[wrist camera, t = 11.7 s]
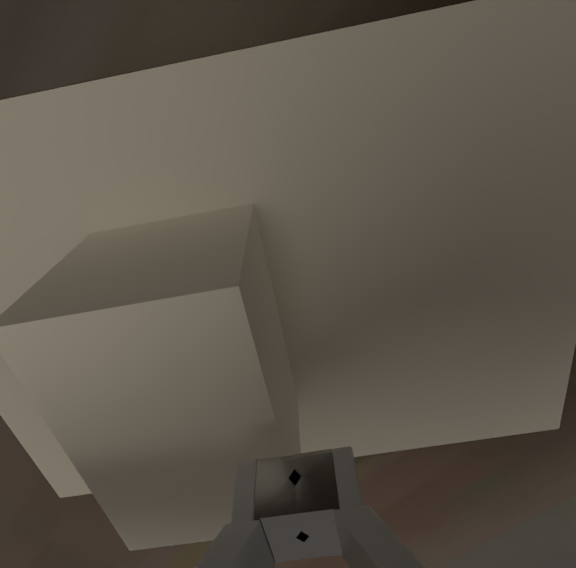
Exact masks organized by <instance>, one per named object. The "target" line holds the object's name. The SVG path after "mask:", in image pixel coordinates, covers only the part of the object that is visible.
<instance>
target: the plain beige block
mask: <svg viewBox="0 0 576 568" xmlns="http://www.w3.org/2000/svg"><path fill="white" fill-rule="evenodd" d="M0 353H1V355H2V357H3V358H4V360H5V361H6V363H7V364H8V366H9V367H10V369H11V370H12V372H13V373H14V375H15V376H16V378H17V379H18V381H19V382H20V384H21V386H22V387H23V389H24V390H25V392H26V393H27V395H28V396H29V398H30V399H31V401H32V402H33V404H34V405H35V407H36V408H37V410H38V411H39V413H40V415H41V416H42V418H43V419H44V421H45V422H46V424H47V425H48V427H49V428H50V430H51V431H52V433H53V434H54V436H55V437H56V439H57V440H58V442H59V444H60V445H61V447H62V448H63V450H64V451H65V453H66V454H67V456H68V457H69V459H70V460H71V462H72V463H73V465H74V466H75V468H76V469H77V471H78V473H79V474H80V476H81V477H82V479H83V480H84V482H85V483H86V485H87V486H88V488H89V489H90V491H91V492H92V494H93V495H94V497H95V498H96V500H97V502H98V503H99V505H100V506H101V508H102V509H103V511H104V512H105V514H106V515H107V517H108V518H109V520H110V521H111V523H112V524H113V526H114V528H115V529H116V531H117V532H118V534H119V535H120V537H121V538H122V540H123V541H124V543H125V544H126V546H127V547H128V549H129V550H130V551H132V550H140V549H148V548H156V547H164V546H171V545H179V544H187V543H195V542H203V541H210V540H215V538H216V537H217V536H218V534H219V533H220V531H221V530H222V528H223V527H224V525H225V524H229V523H231V519H232V509H233V500H234V490H235V481H236V471H237V466H238V463H239V461H247V460H255V459H263V458H272V457H282V456H291V455H295V454H299V453H301V448H300V430H299V413H298V396H297V392H296V388H295V383H294V379H293V374H292V370H291V366H290V361H289V357H288V353H287V348H286V344H285V340H284V335H283V331H282V326H281V322H280V318H279V313H278V309H277V305H276V300H275V296H274V292H273V287H272V283H271V278H270V274H269V270H268V265H267V261H266V257H265V252H264V248H263V244H262V239H261V235H260V230H259V226H258V222H257V217H256V213H255V209H254V204H253V203H252V204H247V205H241V206H236V207H231V208H225V209H220V210H214V211H209V212H203V213H198V214H193V215H187V216H182V217H176V218H171V219H165V220H160V221H155V222H149V223H144V224H138V225H133V226H127V227H122V228H117V229H111V230H106V231H100V232H95V233H90V234H89V235H88V236H87V237H86V238H84V239H83V240H82V241H81V242H80V243H79V244H78V245H77V246H76V247H75V248H74V249H72V250H71V251H70V252H69V253H68V254H67V255H66V256H65V257H64V258H63V259H61V260H60V261H59V262H58V263H57V264H56V265H55V266H54V267H53V268H52V269H50V270H49V271H48V272H47V273H46V274H45V275H44V276H43V277H42V278H41V279H39V280H38V281H37V282H36V283H35V284H34V285H33V286H32V287H31V288H30V289H29V290H27V291H26V292H25V293H24V294H23V295H22V296H21V297H20V298H19V299H18V300H16V301H15V302H14V303H13V304H12V305H11V306H10V307H9V308H8V309H7V310H5V311H4V312H3V313H2V314H1V315H0Z"/></svg>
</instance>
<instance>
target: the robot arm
mask: <svg viewBox="0 0 576 568" xmlns="http://www.w3.org/2000/svg"><path fill="white" fill-rule="evenodd" d="M335 555H343V558H344V559H345V561H346V562H347V563H348V565H349V566H350V568H425V567H424V566H423V565H422V563H421V562H420V561H419V560H418V559H417V558H416V557H415V556H414V555H413V554H412V552H411V551H410V550H409V549H408V548H407V547H406V546H405V545H404V544H403V543H402V541H401V540H400V539H399V538H398V537H397V536H396V535H395V534H394V533H393V532H392V530H391V529H390V528H389V527H388V526H387V525H386V524H385V523H384V522H383V521H382V520H381V518H380V517H379V516H378V515H377V514H376V513H375V512H374V511H373V510H372V509H371V507H370V506H363V503H362V498H361V493H360V487H359V482H358V477H357V472H356V466H355V461H354V456H353V450H352V448H351V446H350V447H343V448H336V449H326V450H319V451H312V452H306V453H299V454H295V455H291V456H282V457H272V458H263V459H255V460H247V461H239V463H238V466H237V471H236V481H235V490H234V500H233V509H232V519H231V523H229V524H225V525H224V527H223V528H222V530H221V531H220V533H219V534H218V536H217V537H216V538H215V540H214V541H213V543H212V544H211V546H210V547H209V549H208V550H207V552H206V553H205V554H204V556H203V557H202V559H201V560H200V562H199V563H198V565H197V566H196V568H274V567H275V563H278V562H284V561H291V560H297V559H304V558H312V557H324V556H335Z"/></svg>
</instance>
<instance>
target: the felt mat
mask: <svg viewBox="0 0 576 568" xmlns="http://www.w3.org/2000/svg"><path fill="white" fill-rule="evenodd" d="M252 203H253V204H254V209H255V213H256V217H257V222H258V226H259V230H260V235H261V239H262V244H263V248H264V252H265V257H266V261H267V265H268V270H269V274H270V278H271V283H272V287H273V292H274V296H275V300H276V305H277V309H278V313H279V318H280V322H281V326H282V331H283V335H284V340H285V344H286V348H287V353H288V357H289V361H290V366H291V370H292V374H293V379H294V383H295V388H296V392H297V396H298V413H299V430H300V448H301V453H306V452H312V451H319V450H326V449H336V448H343V447H350V446H351V448H352V450H353V456H354V457H358V456H365V455H372V454H380V453H387V452H394V451H401V450H408V449H416V448H423V447H430V446H437V445H445V444H452V443H459V442H466V441H473V440H481V439H488V438H495V437H502V436H509V435H517V434H524V433H531V432H538V431H546V430H553V429H559V427H560V422H561V416H562V411H563V406H564V401H565V396H566V391H567V386H568V381H569V376H570V370H571V365H572V360H573V355H574V350H575V345H576V0H475V1H470V2H466V3H461V4H456V5H451V6H447V7H442V8H437V9H432V10H428V11H423V12H418V13H413V14H409V15H404V16H399V17H394V18H390V19H385V20H380V21H375V22H370V23H366V24H361V25H356V26H351V27H347V28H342V29H337V30H332V31H328V32H323V33H318V34H313V35H309V36H304V37H299V38H294V39H290V40H285V41H280V42H275V43H271V44H266V45H261V46H256V47H252V48H247V49H242V50H237V51H232V52H228V53H223V54H218V55H213V56H209V57H204V58H199V59H194V60H190V61H185V62H180V63H175V64H171V65H166V66H161V67H156V68H152V69H147V70H142V71H137V72H133V73H128V74H123V75H118V76H113V77H109V78H104V79H99V80H94V81H90V82H85V83H80V84H75V85H71V86H66V87H61V88H56V89H52V90H47V91H42V92H37V93H33V94H28V95H23V96H18V97H14V98H9V99H4V100H0V315H1V314H2V313H3V312H4V311H5V310H7V309H8V308H9V307H10V306H11V305H12V304H13V303H14V302H15V301H16V300H18V299H19V298H20V297H21V296H22V295H23V294H24V293H25V292H26V291H27V290H29V289H30V288H31V287H32V286H33V285H34V284H35V283H36V282H37V281H38V280H39V279H41V278H42V277H43V276H44V275H45V274H46V273H47V272H48V271H49V270H50V269H52V268H53V267H54V266H55V265H56V264H57V263H58V262H59V261H60V260H61V259H63V258H64V257H65V256H66V255H67V254H68V253H69V252H70V251H71V250H72V249H74V248H75V247H76V246H77V245H78V244H79V243H80V242H81V241H82V240H83V239H84V238H86V237H87V236H88V235H89V234H90V233H95V232H100V231H106V230H111V229H117V228H122V227H127V226H133V225H138V224H144V223H149V222H155V221H160V220H165V219H171V218H176V217H182V216H187V215H193V214H198V213H203V212H209V211H214V210H220V209H225V208H231V207H236V206H241V205H247V204H252ZM0 415H1V416H2V418H3V419H4V421H5V422H6V423H7V425H8V426H9V428H10V429H11V430H12V432H13V433H14V435H15V436H16V437H17V439H18V440H19V441H20V443H21V444H22V446H23V447H24V448H25V450H26V451H27V453H28V454H29V455H30V457H31V458H32V460H33V461H34V462H35V464H36V465H37V466H38V468H39V469H40V471H41V472H42V473H43V475H44V476H45V478H46V479H47V480H48V482H49V483H50V485H51V486H52V487H53V489H54V490H55V491H56V493H57V494H58V496H59V497H60V498H62V497H69V496H77V495H84V494H91V493H92V492H91V491H90V489H89V488H88V486H87V485H86V483H85V482H84V480H83V479H82V477H81V476H80V474H79V473H78V471H77V469H76V468H75V466H74V465H73V463H72V462H71V460H70V459H69V457H68V456H67V454H66V453H65V451H64V450H63V448H62V447H61V445H60V444H59V442H58V440H57V439H56V437H55V436H54V434H53V433H52V431H51V430H50V428H49V427H48V425H47V424H46V422H45V421H44V419H43V418H42V416H41V415H40V413H39V411H38V410H37V408H36V407H35V405H34V404H33V402H32V401H31V399H30V398H29V396H28V395H27V393H26V392H25V390H24V389H23V387H22V386H21V384H20V382H19V381H18V379H17V378H16V376H15V375H14V373H13V372H12V370H11V369H10V367H9V366H8V364H7V363H6V361H5V360H4V358H3V357H2V355H1V353H0Z"/></svg>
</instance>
